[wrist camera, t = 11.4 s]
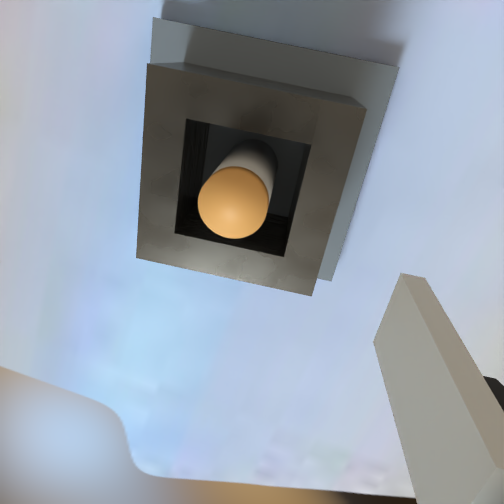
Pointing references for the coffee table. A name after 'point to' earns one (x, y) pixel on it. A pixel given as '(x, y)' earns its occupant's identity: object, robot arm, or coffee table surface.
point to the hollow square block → (193, 161)
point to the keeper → (267, 147)
